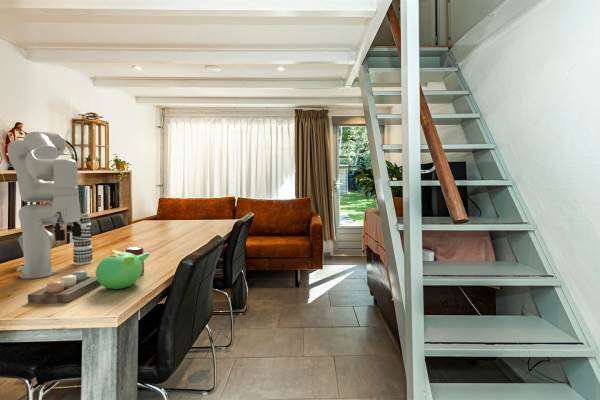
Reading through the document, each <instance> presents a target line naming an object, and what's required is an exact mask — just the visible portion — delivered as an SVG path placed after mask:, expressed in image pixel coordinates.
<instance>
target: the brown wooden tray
mask: <svg viewBox="0 0 600 400" xmlns="http://www.w3.org/2000/svg"><path fill="white" fill-rule="evenodd" d="M76 284H77V285H75V286H73V287H64V291H63V292H61V293H56V294H47V285H46V286H44V287H42V288H40V289H37V290H35V291H33V292H30V293H28V294H27V304H70V303H71V302H73V301H75V300H77V299H78V298H80V297H82V296H84V295H86V294H87V293H89V292H91V291H93V290H95V289H97V288H98V287H100V286H102V285H101V284H100V283H99V282H98V280H97V278H96V275H95V276H89V275H87V280H85V281H83V282H76Z"/></svg>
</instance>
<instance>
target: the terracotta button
mask: <svg viewBox="0 0 600 400" xmlns="http://www.w3.org/2000/svg"><path fill="white" fill-rule="evenodd" d="M46 286H47V294H56V293H61V292H63V291H64V281H62V280H60V279H59V280H54V281H53V280H52V281H49V282H47V283H46Z"/></svg>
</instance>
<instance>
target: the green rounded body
mask: <svg viewBox="0 0 600 400" xmlns="http://www.w3.org/2000/svg"><path fill="white" fill-rule="evenodd" d="M150 255H151V254H150V252H144V254H141V255H138V256H136V255H134V254H132V253H128V252H125V251H118V250H115V249H113V250H111V253H110V254H108V255H106V256H105V257H103V258H102V259H101V261H99V263H98V264H97V266H96V269H95V276H96V278H97V280H98V282H99V283H100V284H101V285H100V286H102V287H105V288H108V289H111V290H121V289H125V288H128V287H130V286H132V285H134V284H135V283H136V282H137V281H138V280H139V278H140V277H141V276H142V275H141V273H142V262H143V261H144V262H145V260H146V259H147V258H148V257H150Z"/></svg>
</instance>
